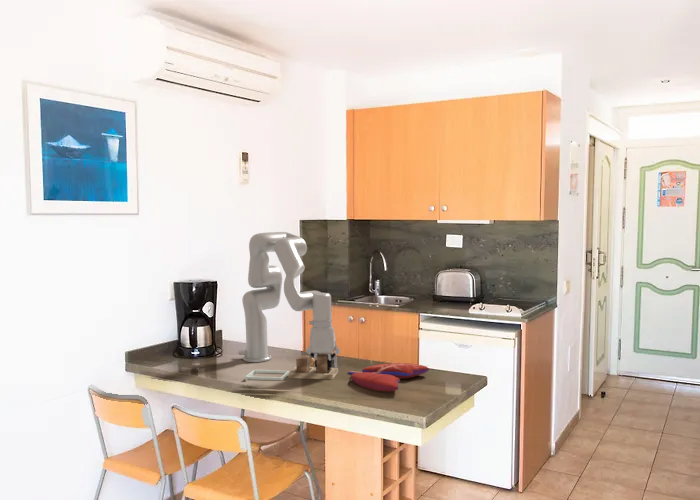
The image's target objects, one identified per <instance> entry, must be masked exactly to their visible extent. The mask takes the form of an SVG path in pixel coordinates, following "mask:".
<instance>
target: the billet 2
mask: <svg viewBox="0 0 700 500" xmlns="http://www.w3.org/2000/svg"><path fill="white" fill-rule="evenodd" d="M316 358H317V373H322V374H327V373H328V372H329V371H330V370H328V366H327V361H328V355H327V353H319V354H318V355H317V356H316Z"/></svg>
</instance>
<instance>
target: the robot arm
mask: <svg viewBox="0 0 700 500" xmlns="http://www.w3.org/2000/svg"><path fill="white" fill-rule="evenodd" d="M248 245H249V246H248V250H249V263H248V264H249V266H248V277H247V282H248V286H249V287H250V288H253V289H252V290H247V291H246V292H245V293H244V294H243V296H242V308H243V311H244V318H245V321H244V322H245V336H246V337H245V338H246V339H245V342H246V343H245V344H246V345H245V346H246V349H238V352H237V353H238V355H241V356H242V355H243V358H242V359H243V361H244V362H247V363H261V362H262V363H263V362H267V361H270V360H271V359H272V355H271V354H269V349H268V348H269V347H268V322H267V317H266V315H265V314H264V312H263V311H266V310H270V309H275V308H277V307H278V306H279V304H280V301H281V293H282V283H283V292H284V295H285V299H286V301H287V303H288V304H289V306H290V308H291V309H292V310H293V311H295V312H304V311H310V310H312V320H309V325H311V326H312V327H311V328H310V331H309V346H308V347H307V349H306V350H305V353H306V354H308V355H310V357H311V358H314V360H315V365H314V367H316V370H317V358H316V356H317V355H318V354H319V353H327V355H328V361H327V366H328V370H330V369H331V368H332V358H333V357H337V355H339V354H340V353H341V350H340V349H339V347H338V346H337V341H336V340H337V339H336V334H335V329H334V328H335V327H334V326H333V323H332V321H333V317H332V316H333V314H332V295H331V294H330V293H328V292H321V291H319V290H308V291H307V290H306V291H301V292H299V290H298V289H297V287H296V284H295V279H296V278H297V277H299V276H301V275H302V273H304V272H305V268H306V267H305V264H304V262H303V259H302V258H301V257H304V256H305V255H306V253H307V251H308V246H307V243H306V241H305V240H304V239H303V238H302V237H300V236H298V235H295V234H292V233H290V232H286V231H277V232H276V231H275V232H270V231H269V232H258V233H256V234H253V235H252V236H251V237H250V239H249V243H248ZM271 252H272V253H273V252H274V253H275V254H276V257H277V258H278V260H279V262H280V265H281V267H282V269H283V271H284V273H285V277H284V281H283V273H282V270H281V269H280V267H278V266H277V265H269V263H270V258H269V255H268V253H271Z"/></svg>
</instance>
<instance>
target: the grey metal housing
mask: <svg viewBox="0 0 700 500" xmlns="http://www.w3.org/2000/svg"><path fill="white" fill-rule="evenodd" d="M332 368H338V356H334V357H333V358H332Z"/></svg>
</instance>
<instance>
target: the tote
mask: <svg viewBox="0 0 700 500" xmlns="http://www.w3.org/2000/svg"><path fill="white" fill-rule="evenodd" d="M289 372H290V370H278V369H277V370H275V369H273V370H272V369H270V370H269V369H252V371H250V372H249V373H248V374H246V375H245V376H244V381H245V382H247V381H249V380H254V381H255V380H259V381H261V380H262V381H266V380H267V381H283V380H284V379H286V377H288V373H289ZM259 373H260V374H283V375H282V376H280V377H279V376H278V377H277V376H255V375H256V374H259Z"/></svg>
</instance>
